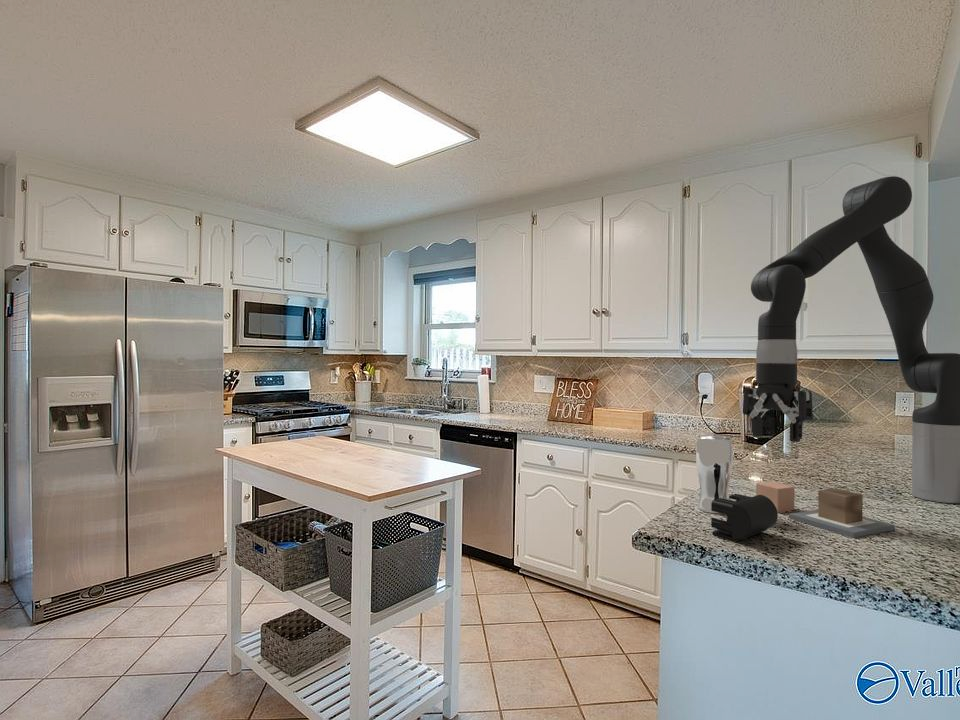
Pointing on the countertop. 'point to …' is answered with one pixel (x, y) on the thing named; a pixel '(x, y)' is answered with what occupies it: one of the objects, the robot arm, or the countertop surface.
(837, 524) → the plate
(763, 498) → the end cap
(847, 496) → the walnut block
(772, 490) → the terracotta block
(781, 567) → the countertop surface
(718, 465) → the beer glass
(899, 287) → the robot arm
